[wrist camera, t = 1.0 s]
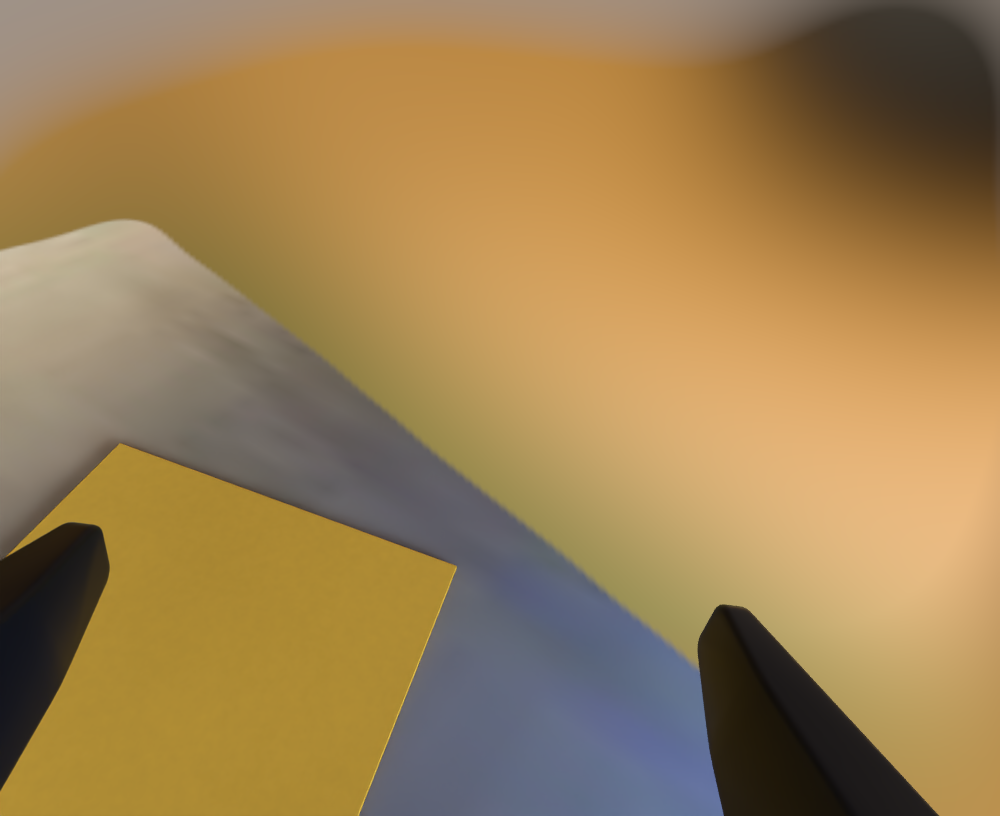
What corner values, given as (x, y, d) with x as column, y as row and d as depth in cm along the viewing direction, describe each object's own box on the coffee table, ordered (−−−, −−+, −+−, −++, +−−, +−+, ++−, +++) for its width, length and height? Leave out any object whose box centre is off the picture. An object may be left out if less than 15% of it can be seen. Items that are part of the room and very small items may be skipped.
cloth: (176, 1275, 14) (174, 1279, 14) (-424, 993, 16) (-434, 993, 15) (456, 569, 28) (457, 565, 28) (121, 446, 29) (119, 442, 29)
